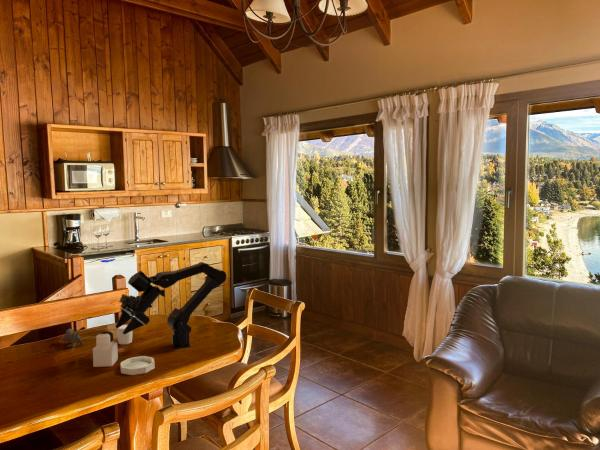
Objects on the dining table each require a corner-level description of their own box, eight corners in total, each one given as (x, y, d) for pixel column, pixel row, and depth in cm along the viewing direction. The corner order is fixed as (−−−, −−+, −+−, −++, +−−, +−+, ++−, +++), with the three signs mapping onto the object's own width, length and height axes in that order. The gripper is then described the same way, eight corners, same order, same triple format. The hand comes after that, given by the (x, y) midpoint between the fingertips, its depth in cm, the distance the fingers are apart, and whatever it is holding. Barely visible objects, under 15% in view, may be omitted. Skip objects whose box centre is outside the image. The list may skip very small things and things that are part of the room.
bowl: (152, 359, 181) (152, 354, 180) (156, 371, 170) (155, 365, 169) (120, 364, 176) (119, 359, 176) (121, 376, 165) (121, 371, 165)
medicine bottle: (99, 359, 181) (98, 330, 180) (118, 359, 181) (117, 329, 180) (92, 367, 174) (91, 336, 172) (112, 366, 174) (111, 335, 173)
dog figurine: (85, 345, 197) (84, 329, 196) (71, 349, 192) (71, 332, 191) (72, 339, 204) (72, 323, 203) (59, 343, 200) (58, 326, 199)
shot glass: (127, 345, 197) (127, 329, 196) (113, 344, 198) (112, 328, 197) (136, 340, 203) (136, 324, 203) (122, 338, 205) (121, 323, 204)
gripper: (124, 282, 189) (97, 313, 183) (140, 291, 174) (111, 325, 169) (144, 298, 195) (118, 329, 189) (161, 308, 180) (133, 341, 174)
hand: (119, 330), depth 180 cm, fingers open, 9 cm apart
